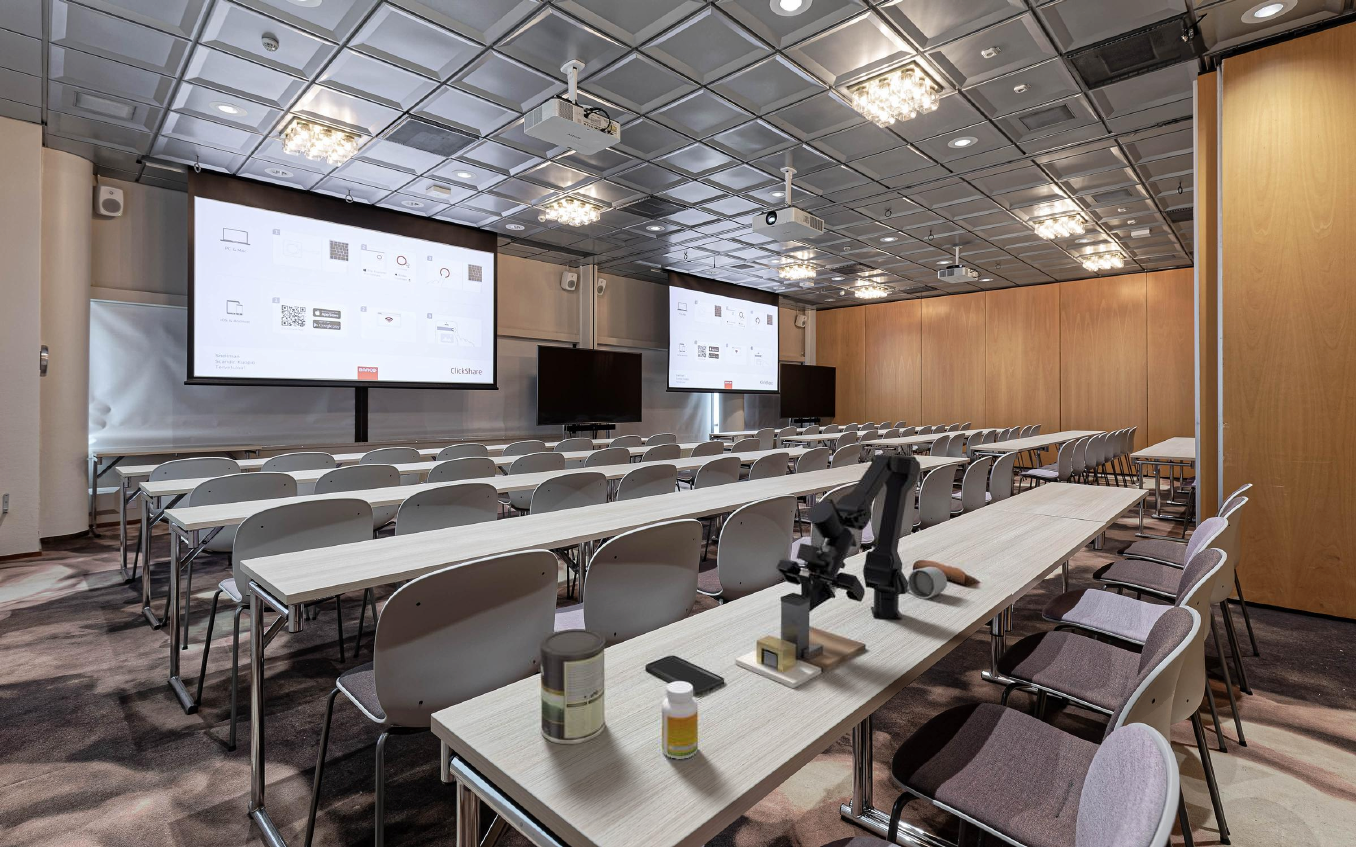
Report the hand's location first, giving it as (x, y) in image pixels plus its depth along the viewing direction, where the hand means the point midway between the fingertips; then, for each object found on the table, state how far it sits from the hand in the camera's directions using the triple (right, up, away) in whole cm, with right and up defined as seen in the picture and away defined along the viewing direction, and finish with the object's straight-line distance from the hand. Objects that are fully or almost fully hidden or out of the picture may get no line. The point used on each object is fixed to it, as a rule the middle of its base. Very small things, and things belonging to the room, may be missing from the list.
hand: (801, 613), depth 125 cm
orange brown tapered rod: (+54, -7, +56) cm, 78 cm away
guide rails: (0, -9, 0) cm, 9 cm away
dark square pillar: (-4, -8, -3) cm, 9 cm away
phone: (-24, -10, -8) cm, 27 cm away
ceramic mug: (+40, -7, +40) cm, 57 cm away
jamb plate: (-6, -9, -5) cm, 12 cm away
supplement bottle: (-25, -11, -33) cm, 42 cm away
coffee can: (-42, -10, -26) cm, 50 cm away
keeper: (-6, -9, -5) cm, 12 cm away
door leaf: (+4, -9, +4) cm, 10 cm away
